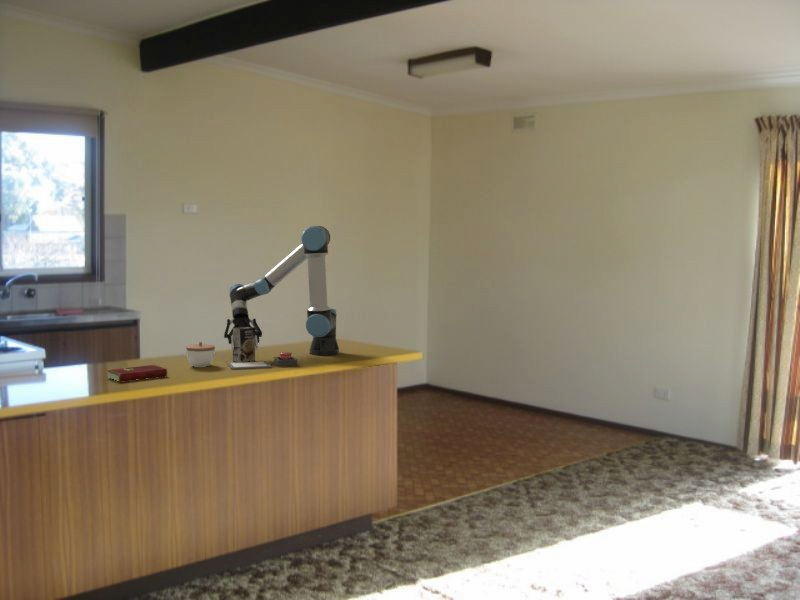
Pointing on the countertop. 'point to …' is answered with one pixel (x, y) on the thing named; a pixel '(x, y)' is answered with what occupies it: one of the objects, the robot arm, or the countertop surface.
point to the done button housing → (285, 362)
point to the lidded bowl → (200, 354)
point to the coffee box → (244, 344)
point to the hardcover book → (137, 372)
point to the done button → (285, 355)
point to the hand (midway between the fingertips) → (245, 348)
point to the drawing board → (248, 365)
